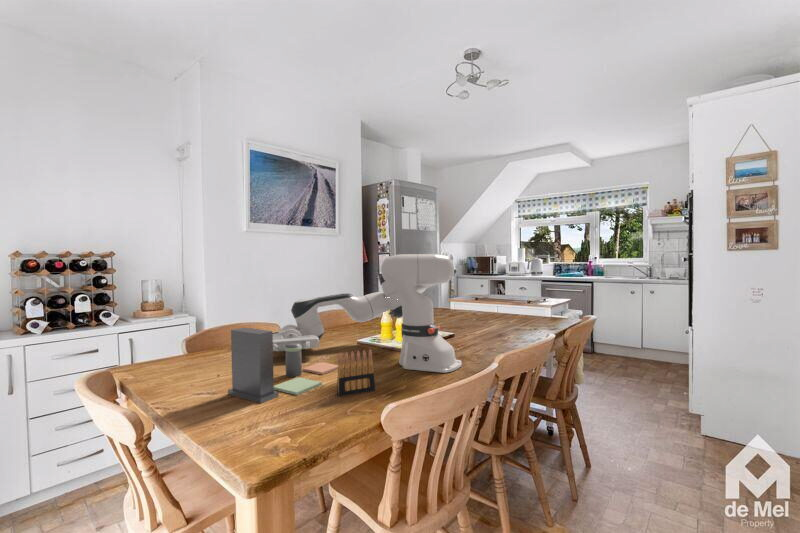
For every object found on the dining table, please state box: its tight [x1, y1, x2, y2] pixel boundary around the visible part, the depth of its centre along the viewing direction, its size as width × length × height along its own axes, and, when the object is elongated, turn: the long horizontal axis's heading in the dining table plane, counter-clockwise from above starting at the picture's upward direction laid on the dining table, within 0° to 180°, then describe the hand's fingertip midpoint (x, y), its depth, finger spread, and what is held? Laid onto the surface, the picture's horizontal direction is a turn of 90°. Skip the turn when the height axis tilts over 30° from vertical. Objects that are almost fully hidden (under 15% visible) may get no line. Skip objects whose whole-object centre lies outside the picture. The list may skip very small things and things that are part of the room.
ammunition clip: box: [336, 348, 376, 397], centre depth 110 cm, size 11×2×12 cm, turn 115°
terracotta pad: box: [302, 361, 338, 376], centre depth 133 cm, size 9×9×1 cm
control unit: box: [227, 327, 280, 404], centre depth 108 cm, size 14×6×18 cm, turn 59°
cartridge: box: [284, 343, 303, 378], centre depth 127 cm, size 5×5×10 cm
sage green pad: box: [274, 376, 323, 396], centre depth 115 cm, size 10×10×1 cm
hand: (292, 348), depth 138 cm, fingers open, 8 cm apart
